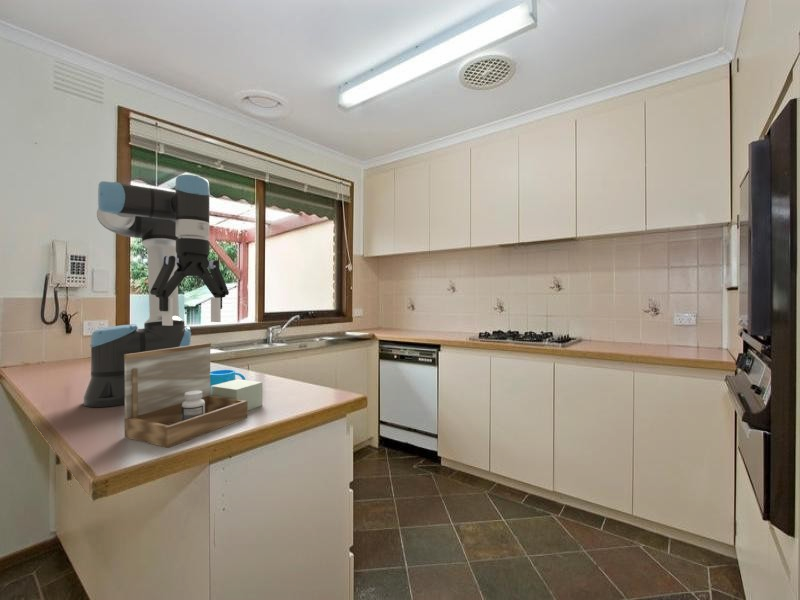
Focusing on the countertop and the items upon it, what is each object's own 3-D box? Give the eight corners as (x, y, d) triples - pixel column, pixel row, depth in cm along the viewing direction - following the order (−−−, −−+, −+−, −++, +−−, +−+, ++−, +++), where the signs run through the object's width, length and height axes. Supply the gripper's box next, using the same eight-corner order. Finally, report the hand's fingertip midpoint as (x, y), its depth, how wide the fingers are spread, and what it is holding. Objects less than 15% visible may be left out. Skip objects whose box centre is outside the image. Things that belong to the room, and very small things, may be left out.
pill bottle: (187, 423, 100) (187, 389, 100) (208, 423, 101) (208, 389, 101) (177, 431, 95) (177, 395, 95) (199, 430, 95) (199, 394, 95)
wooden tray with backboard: (124, 437, 91) (124, 354, 90) (207, 410, 112) (207, 343, 112) (168, 447, 85) (167, 359, 84) (247, 417, 106) (247, 346, 106)
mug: (213, 402, 120) (213, 375, 120) (204, 396, 126) (204, 372, 126) (250, 395, 129) (250, 370, 129) (240, 390, 135) (240, 367, 135)
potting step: (210, 410, 112) (210, 386, 112) (237, 401, 121) (237, 379, 121) (236, 414, 108) (236, 389, 108) (262, 405, 117) (262, 382, 117)
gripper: (154, 230, 84) (154, 327, 84) (242, 244, 107) (242, 321, 107) (131, 232, 87) (132, 326, 87) (222, 245, 110) (222, 320, 110)
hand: (193, 323), depth 97 cm, fingers open, 13 cm apart
